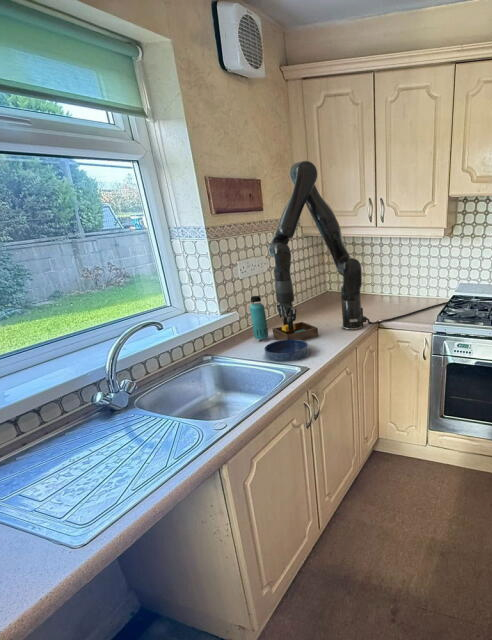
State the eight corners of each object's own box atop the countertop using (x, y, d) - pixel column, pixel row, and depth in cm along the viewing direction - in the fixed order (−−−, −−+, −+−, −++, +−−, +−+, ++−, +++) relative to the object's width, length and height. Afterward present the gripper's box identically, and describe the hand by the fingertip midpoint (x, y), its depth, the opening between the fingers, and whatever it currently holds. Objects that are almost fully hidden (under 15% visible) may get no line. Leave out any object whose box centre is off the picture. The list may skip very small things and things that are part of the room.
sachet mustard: (291, 327, 186) (291, 323, 185) (295, 329, 183) (295, 325, 182) (281, 330, 183) (281, 325, 182) (285, 331, 180) (285, 327, 179)
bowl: (295, 345, 178) (294, 336, 176) (316, 355, 166) (316, 346, 164) (258, 354, 168) (257, 346, 166) (278, 366, 156) (277, 357, 154)
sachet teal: (303, 333, 191) (303, 329, 190) (307, 334, 188) (307, 330, 188) (294, 335, 188) (294, 331, 187) (298, 337, 185) (298, 333, 185)
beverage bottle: (256, 343, 180) (249, 298, 172) (253, 339, 186) (246, 295, 177) (270, 341, 183) (264, 296, 175) (267, 337, 188) (261, 293, 180)
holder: (303, 330, 196) (302, 321, 194) (318, 337, 187) (317, 327, 185) (273, 338, 187) (272, 328, 185) (288, 345, 177) (287, 335, 175)
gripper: (300, 291, 173) (304, 330, 180) (284, 286, 183) (288, 323, 190) (284, 294, 168) (289, 334, 176) (268, 289, 178) (273, 327, 185)
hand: (288, 328), depth 183 cm, fingers closed on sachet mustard, 3 cm apart
